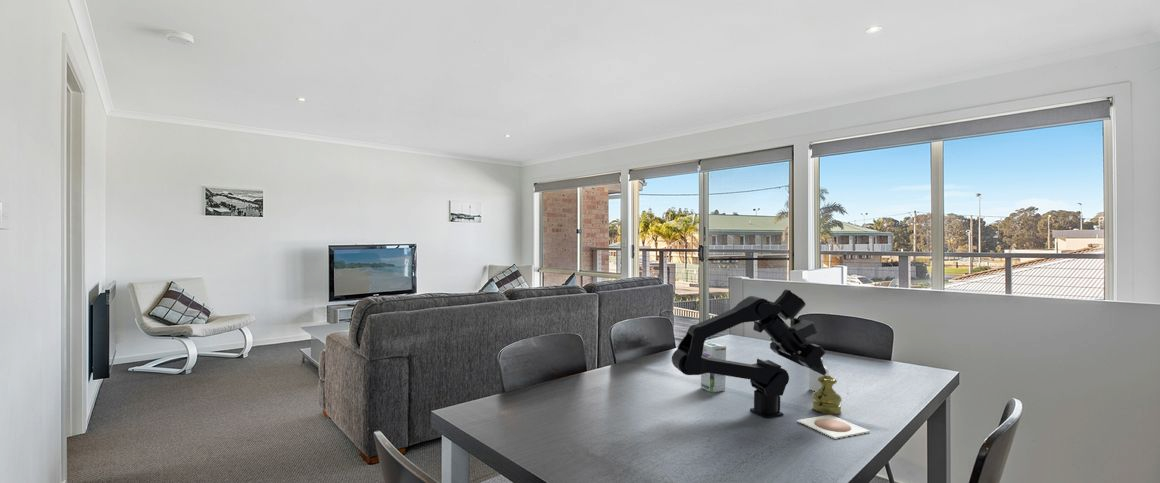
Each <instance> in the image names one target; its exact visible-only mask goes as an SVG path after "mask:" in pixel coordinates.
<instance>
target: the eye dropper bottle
mask: <svg viewBox="0 0 1160 483" xmlns="http://www.w3.org/2000/svg"><path fill="white" fill-rule="evenodd" d="M821 361H822V363H823V364H824V358H822V357H821ZM823 366H824V365H823ZM824 368H825V370H826V374H825V375H829V376H830V374H829V369H828V368H827V366H824ZM820 376H824V375H822V374H820V373H818V372H816V371H814V370H811V369H809V368H808V389H809V390H810V391H811V390H812V391H811V392H814V391H817V390H818V389H820V388H821V387H822V385H821V383H820V382H819V381H818V380H817V378H818V377H820Z"/></svg>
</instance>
